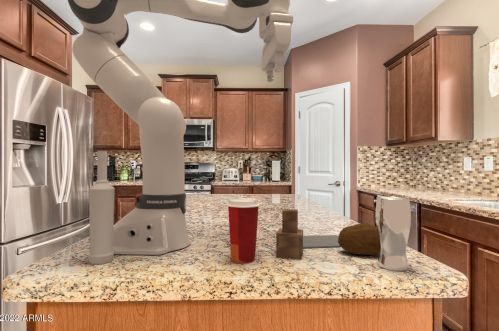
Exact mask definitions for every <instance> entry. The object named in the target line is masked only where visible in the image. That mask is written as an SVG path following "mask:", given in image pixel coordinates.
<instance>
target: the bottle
mask: <svg viewBox="0 0 499 331" xmlns="http://www.w3.org/2000/svg"><path fill="white" fill-rule="evenodd" d="M96 152H97V153H96V154H97V156H96V159H97V172H96V174H97V176H96V179H97V180H96V181H95V183H94V184H93V185H92V186H91V187H89V189H88V190H89V191H88V195H89V196H88V201H89V204H88V205H89V207H88V210H89V211H88V212H89V254H88V261H89V264H91V265H103V264H104V265H105V264H108V263H111V262H113V260H114V257H115V254H114V251H113V227H114V225H115V224H114V223H115V222H114V219H115V215H114V214H115V190H116V188H115V187H114V186H113V185H111V183H110V181H109V180H108V151H106V150H97V151H96Z"/></svg>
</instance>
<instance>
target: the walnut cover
mask: <svg viewBox="0 0 499 331" xmlns="http://www.w3.org/2000/svg"><path fill="white" fill-rule="evenodd" d="M281 212H282V213H281V215H282V216H281V221H282V222H281V228H279V229H278V230H277V232H276V233H275V234H276V235H275V236H276V238H275V239H276V240H275V243H276V244H275V249H276V250H275V258H277V259H288V258H291V259H290V260H301V259H303V256H304V255H303V254H304V249H303V236H304V228H303V229H302V228H300V229H299V227H298V226H299V209H295V208H294V209H293V208H292V209H291V208H283V210H282V211H281Z"/></svg>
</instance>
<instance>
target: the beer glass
mask: <svg viewBox="0 0 499 331" xmlns="http://www.w3.org/2000/svg"><path fill="white" fill-rule="evenodd" d="M410 201H411V198H408V197H405V196H403V197H401V196H386V195H385V196H376V202H375V203H376V206H375V225H376V228H377V234H378V239H379V247H380V251H379V254H378V258H377V266H378V267H380V268H382V269H384V270H389V271H394V272H404V271H407V270H409V263H408V258H407V257H408V256H407V247H408V243H409V236H410V231H411V224H412V214H411V213H412V211H411V202H410Z"/></svg>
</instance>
